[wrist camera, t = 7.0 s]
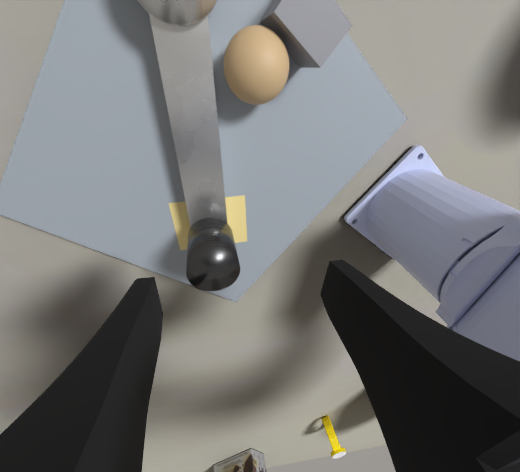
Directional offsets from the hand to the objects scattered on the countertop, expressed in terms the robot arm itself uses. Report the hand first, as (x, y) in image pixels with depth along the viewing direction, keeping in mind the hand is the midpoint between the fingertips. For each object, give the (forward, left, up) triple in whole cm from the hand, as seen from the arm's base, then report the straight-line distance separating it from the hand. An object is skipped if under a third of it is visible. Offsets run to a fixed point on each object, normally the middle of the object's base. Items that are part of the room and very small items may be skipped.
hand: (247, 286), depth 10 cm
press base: (+2, -2, -10) cm, 10 cm away
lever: (+4, -3, -8) cm, 10 cm away
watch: (-45, +29, -10) cm, 55 cm away
